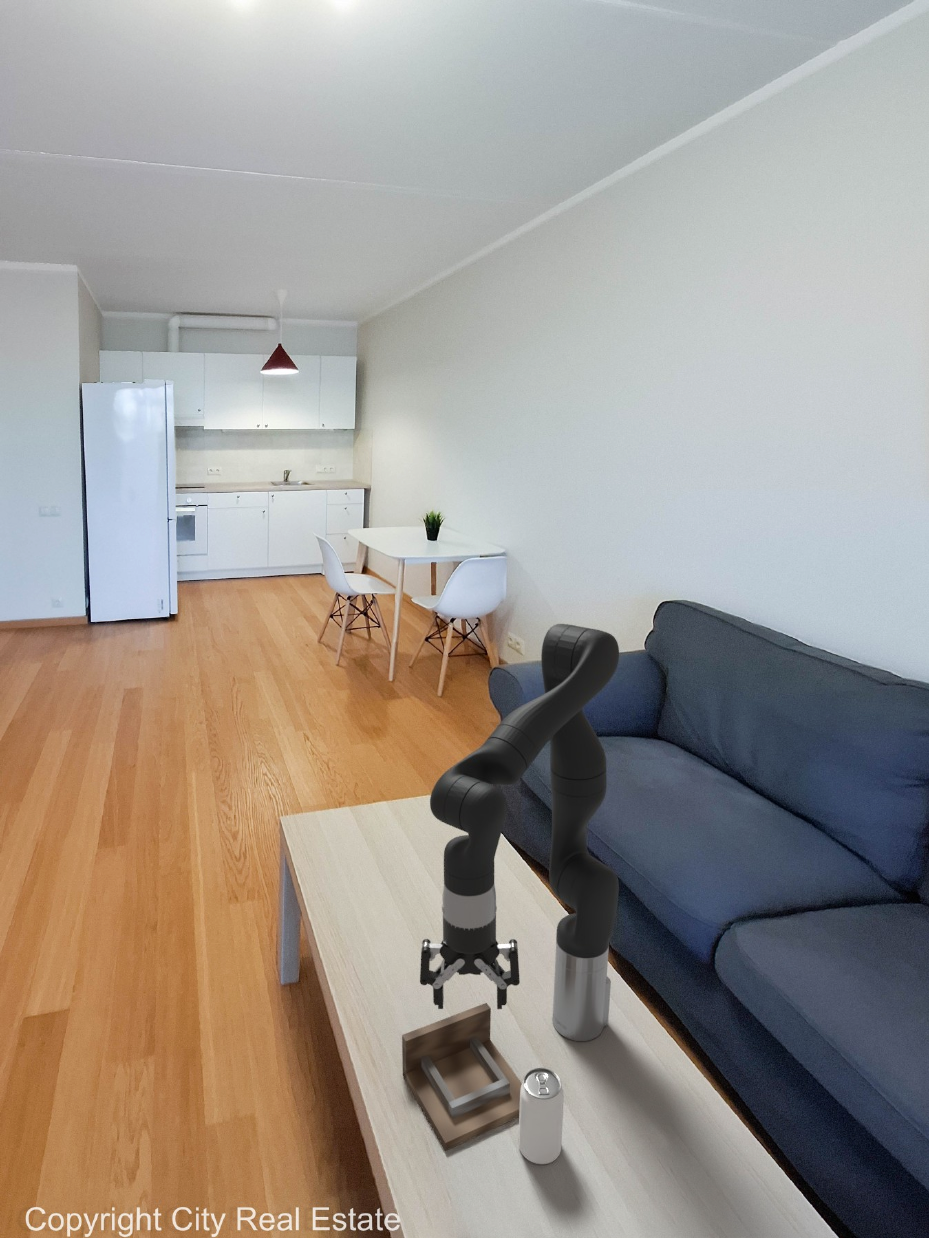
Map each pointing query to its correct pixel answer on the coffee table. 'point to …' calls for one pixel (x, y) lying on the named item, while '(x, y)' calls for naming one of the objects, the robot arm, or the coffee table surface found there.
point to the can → (541, 1116)
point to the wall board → (460, 1076)
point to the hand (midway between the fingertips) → (470, 1004)
